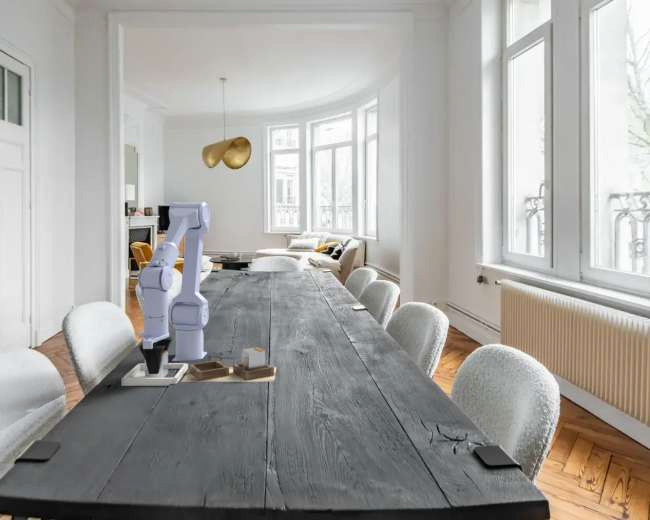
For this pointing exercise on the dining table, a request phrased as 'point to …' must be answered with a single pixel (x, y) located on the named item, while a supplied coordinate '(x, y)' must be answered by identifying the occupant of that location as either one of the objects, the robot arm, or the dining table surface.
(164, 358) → the loose billet
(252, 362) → the seated billet
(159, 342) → the robot arm
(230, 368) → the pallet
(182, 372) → the white square tray
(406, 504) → the dining table surface
